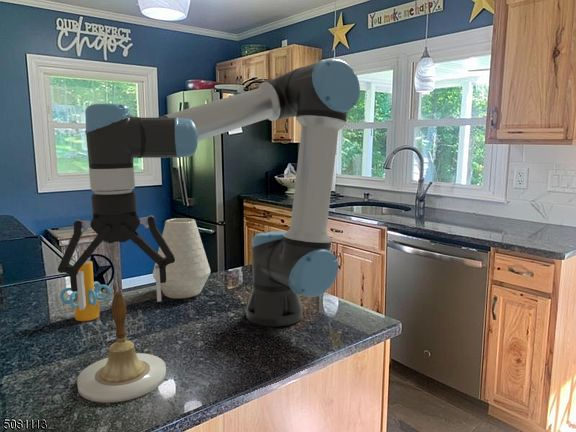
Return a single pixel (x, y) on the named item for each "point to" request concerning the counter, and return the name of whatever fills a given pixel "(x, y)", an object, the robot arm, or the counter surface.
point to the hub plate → (121, 391)
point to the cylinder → (87, 295)
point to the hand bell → (121, 349)
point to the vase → (184, 259)
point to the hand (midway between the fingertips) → (121, 303)
